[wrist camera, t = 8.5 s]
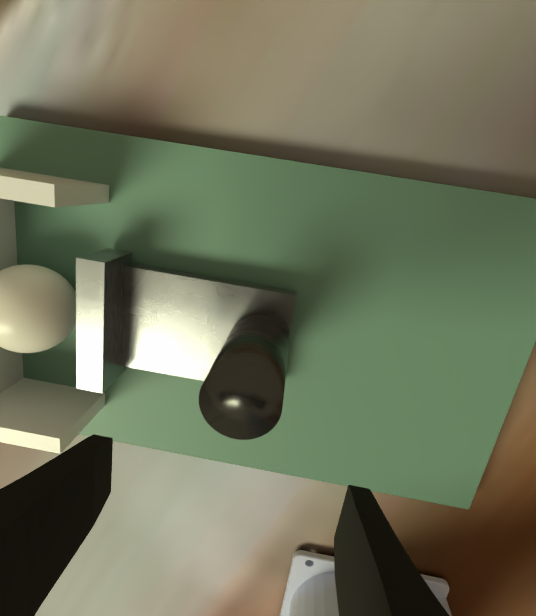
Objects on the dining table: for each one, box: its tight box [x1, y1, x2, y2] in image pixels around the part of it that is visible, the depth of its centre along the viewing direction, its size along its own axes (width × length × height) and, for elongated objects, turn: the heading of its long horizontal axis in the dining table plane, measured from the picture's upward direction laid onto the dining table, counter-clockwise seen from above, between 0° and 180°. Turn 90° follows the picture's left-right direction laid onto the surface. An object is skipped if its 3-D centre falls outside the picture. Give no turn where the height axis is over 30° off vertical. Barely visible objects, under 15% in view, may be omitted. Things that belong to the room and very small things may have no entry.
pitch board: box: [0, 116, 536, 510], centre depth 19 cm, size 26×16×1 cm, turn 82°
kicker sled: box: [76, 248, 297, 440], centre depth 16 cm, size 9×6×6 cm, turn 82°
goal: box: [0, 168, 109, 454], centre depth 17 cm, size 5×12×4 cm, turn 172°
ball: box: [0, 264, 76, 353], centre depth 17 cm, size 4×4×4 cm
